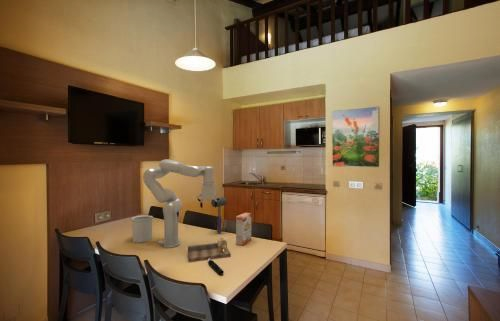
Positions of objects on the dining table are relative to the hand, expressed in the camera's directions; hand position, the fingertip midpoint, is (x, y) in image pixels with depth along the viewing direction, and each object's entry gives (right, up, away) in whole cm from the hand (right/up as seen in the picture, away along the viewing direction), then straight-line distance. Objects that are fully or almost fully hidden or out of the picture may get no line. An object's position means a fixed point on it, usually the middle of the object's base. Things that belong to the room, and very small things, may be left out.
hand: (208, 207), depth 167 cm
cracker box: (+25, -28, +8) cm, 38 cm away
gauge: (+12, -26, -13) cm, 31 cm away
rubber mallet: (+4, -28, +31) cm, 42 cm away
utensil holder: (-55, -29, +16) cm, 64 cm away
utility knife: (+9, -29, -32) cm, 44 cm away
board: (+3, -28, -15) cm, 32 cm away
